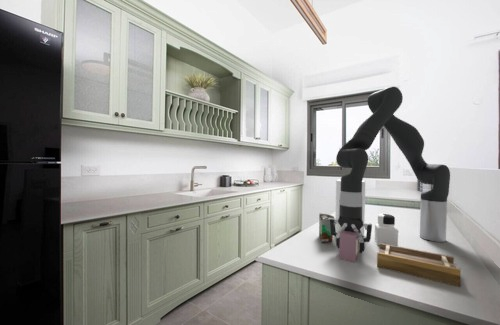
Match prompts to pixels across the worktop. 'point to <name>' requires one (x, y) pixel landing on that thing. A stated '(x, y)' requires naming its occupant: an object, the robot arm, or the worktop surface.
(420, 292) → the worktop surface
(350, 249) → the tea box
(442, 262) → the wooden serving tray
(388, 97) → the robot arm
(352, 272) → the worktop surface
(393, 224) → the medicine bottle
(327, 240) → the food container
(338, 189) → the cylinder
